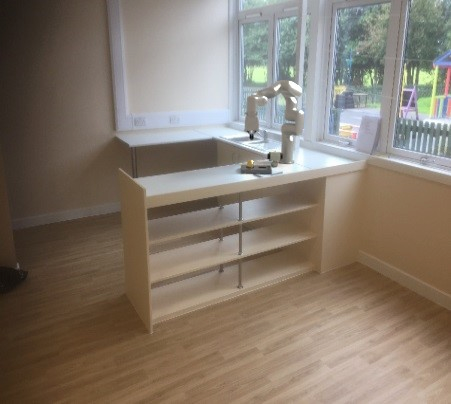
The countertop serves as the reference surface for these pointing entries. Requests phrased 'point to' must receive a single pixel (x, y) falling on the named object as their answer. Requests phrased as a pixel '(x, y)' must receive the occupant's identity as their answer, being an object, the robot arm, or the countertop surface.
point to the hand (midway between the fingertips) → (251, 139)
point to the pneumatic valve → (274, 157)
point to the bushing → (249, 163)
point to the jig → (256, 169)
